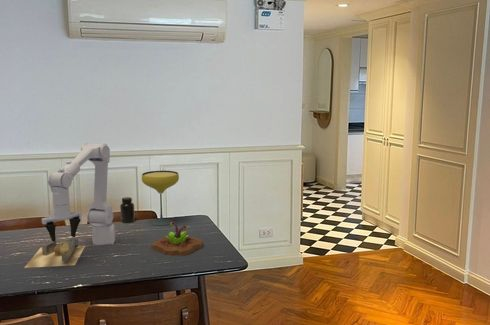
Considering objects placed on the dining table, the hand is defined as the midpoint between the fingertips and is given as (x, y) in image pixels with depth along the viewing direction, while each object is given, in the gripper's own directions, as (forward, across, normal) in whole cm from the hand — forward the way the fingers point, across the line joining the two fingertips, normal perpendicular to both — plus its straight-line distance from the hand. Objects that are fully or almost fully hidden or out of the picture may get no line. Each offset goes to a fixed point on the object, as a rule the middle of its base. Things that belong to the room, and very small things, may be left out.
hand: (63, 238), depth 178 cm
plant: (+11, -43, +13) cm, 46 cm away
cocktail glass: (+11, -60, -22) cm, 64 cm away
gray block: (+10, 0, -15) cm, 18 cm away
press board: (+10, -1, -9) cm, 14 cm away
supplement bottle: (+11, -49, -36) cm, 62 cm away
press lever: (+8, -5, -6) cm, 12 cm away
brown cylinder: (+9, -3, -10) cm, 14 cm away
